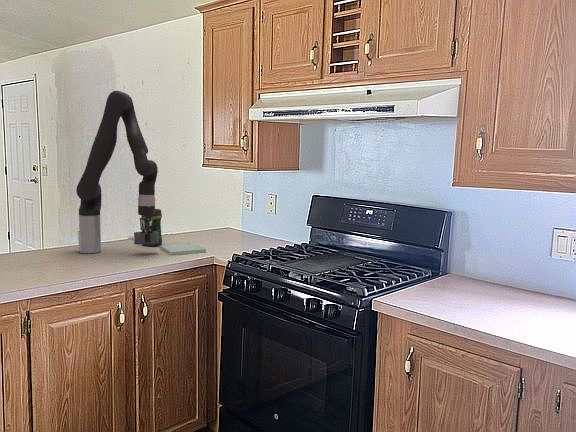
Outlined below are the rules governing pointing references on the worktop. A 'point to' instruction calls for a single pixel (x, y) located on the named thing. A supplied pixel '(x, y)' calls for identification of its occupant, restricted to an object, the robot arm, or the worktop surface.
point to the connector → (140, 238)
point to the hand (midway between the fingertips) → (146, 241)
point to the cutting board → (182, 249)
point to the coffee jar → (156, 226)
